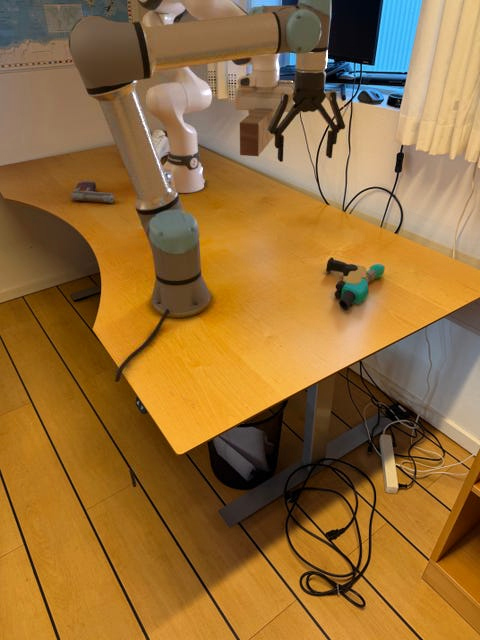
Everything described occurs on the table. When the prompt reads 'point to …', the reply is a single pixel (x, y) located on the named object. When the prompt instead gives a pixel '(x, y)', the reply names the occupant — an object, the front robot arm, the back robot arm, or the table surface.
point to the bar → (255, 132)
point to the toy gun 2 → (353, 281)
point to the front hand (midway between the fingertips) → (304, 158)
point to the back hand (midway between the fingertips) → (264, 124)
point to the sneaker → (161, 142)
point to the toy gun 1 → (90, 193)
